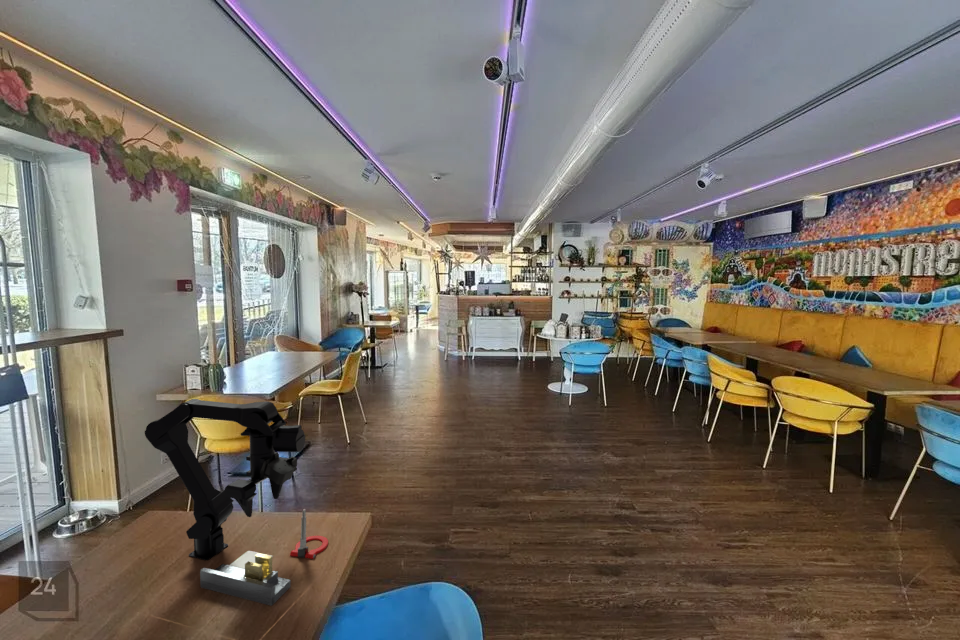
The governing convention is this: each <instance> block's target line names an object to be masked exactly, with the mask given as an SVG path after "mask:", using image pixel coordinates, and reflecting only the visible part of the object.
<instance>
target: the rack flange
mask: <svg viewBox="0 0 960 640" xmlns="http://www.w3.org/2000/svg"><path fill="white" fill-rule="evenodd" d="M199 575H200V576H199V577H200V579H199V580H200V584H199V585H200V588H201V589H205V590H209V591H214V592H217V593H220V594H224V595H228V596H232V597H236V598H240V599H243V600H247V601H251V602H255V603H259V604H263V605H268V606H271V607H272V606H273V605H274V604H275V603H277V601H278V600H279V599H280V598H282V596H283V595H284V594H285V593H286V592H287V591H288V590H289V589H290V588H291V583H292V582H291V579H288V578H284V577H281V576H279V571H277V570H272V573H270V574H269V575H268V576H267V577H266V578H265V579H264V580H263V581H258V580H255V579H251V578H247V577H245V569H244V568H239V567H235V566H231V565H230V564H227V563H226V564H225V563H222V564H220V565H219V566H218V567H216V568H215V569H213V568H212V569H211V568H207V567H203V568H201V569H200V571H199Z"/></svg>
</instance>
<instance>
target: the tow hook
mask: <svg viewBox="0 0 960 640" xmlns="http://www.w3.org/2000/svg"><path fill="white" fill-rule="evenodd" d="M306 511H307V510H306V508H303V509H302V514H301V526H300V539H299V541H298V542H297V543H296V544H295V549H292V550H291V551H290V553H289V555H290V556H291V557H297V558H303V559H311V560H314V559H315V557H316V556H317V555H318V554H319V553H322V552H323V551H325V550H326V549H327V547H328V545H329V540H328V538H327V537H325V536H323V535H310V536H307V517H306V515H307V513H306ZM310 541H320V542H321V543H322V544H321V545H320V546H319V547H317V548H314V549H310V550H309V546H307V542H310Z"/></svg>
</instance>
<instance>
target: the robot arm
mask: <svg viewBox="0 0 960 640" xmlns="http://www.w3.org/2000/svg"><path fill="white" fill-rule="evenodd" d="M194 418H197V419H204V420H205V419H207V420H218V421H226V422H227V421H228V422H234V423H237V424H238V425H240V426H242V427H244V428H245V429H244V430H243V431H242V432H241V433H240V436H242V437H249V455H247V456H245V460H246V461H247V462H249V470H247V471H246V473H245V474H246V476H248V477H250V478H249V479H247V480H246V479H241V478H238V479H236V480H234V481H233V482H230V483H229V484H227V485H226V486H225V487H224V490H222V491H220V490H218V489H216V488H215V487H214V486H213V484H212V482H211V480H210V479H209V477H208V475H207V473H206V472H205V470H204V468H203V467H202V465H201V463H200V461H199V460H198V458H197V456H196V454H195V452H194V450H193V449H192V447H191V446H190V443H189V429H188V425H187V424H188V423H189V422H191V420H193V419H194ZM270 423H272V424H271V425H269V424H270ZM144 436H145V438H146V440H148V442H149V443H150V444H151V445H152V446H153V448H154V449H157V451H161V452H163V453H164V454H165V455H166V456H167V457H168V459H169V460H170V462H171V464H172V466H173V468H174V469H175V471H176V472H177V474H178V476H179V478H180V479H181V481H182V483H183V485H184V486H185V488H186V489H187V491H188V494H189V495H190V497H191V498H192V500H193V501H192V502H193V511H192V513H193V518H194V519H195V523H194V524H192V526H190V527H189V528H188V529H187V530H186V533H185V534H186V535H187V538H188V539H190V540H193V548H194V549H193V551H192V552H189V554H188V557H190V558H193V559H194V558H195V559H199V560H204V561H209V560H211V559H212V558H214V557H215V556H216V555H218V554H219V553H220V552H222V551H223V550H225V549H226V548H228V547H229V544H228V543H225V541H224V540H225V539H224V538H225V537H224V532H223V531H224V530H223V529H224V528H223V526H222V525H223V523H224V522H226V521H227V520H228V518H229V516H231V515H232V513H233V510H234V504H233V502H234V500H235V501H236V502H237V504H238V505H239V507H240V508H241V509H242V511H243V513H244V514H245V516H246V517H247V518H251V517H252V516H253V502H254V501H253V499H254V498H255V496H256V495H257V494H258V493H256V491H257V485H258V484H260V483H262V482H263V481H266V480H267V479H268V480H269V483H270V489H271V493H272V497H273V500H278V499H279V496H280V494H281V491H282V487H283V485H284V483H285V482H287V481H289V480H291V479H292V477H293V474H294V472H296V471H298V468H297V467H298V460H297V457H295V456H291V457H283V456H280V454H279V453H281V452H282V453H284V452H285V453H288V452H289V453H290V452H291V453H300V452H302V450H303V449H304V447H305V443H306V434H305V432H304V430H303V429H302V425H301V424H295V425H287V422H286V420H285V419H284V418H283V416H282V415H281V414H280V413H279V411H278V409H277V407H276V405H275V404H274V403H273V402H272V401H267V400H266V401H256V402H249V403H234V402H233V403H231V402H222V401H210V400H202V399H198V398H192V399H189V400H187V401H184V402H181V403H180V404H179V405H178V406H176V408H174V409H173V410H171V411H170V412H169V413H167V414H165V415H164V416H162V417H161V418H158V419H156V420H154V421H151V422H150V423H148V424H147V425H146V427H145V430H144Z"/></svg>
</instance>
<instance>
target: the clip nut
mask: <svg viewBox="0 0 960 640" xmlns="http://www.w3.org/2000/svg"><path fill="white" fill-rule="evenodd" d="M259 553H260V552H258V554H257V555H256V556H255V563H253V562H249V561H248V562H247V563H246V564H245V577H247V578H251V579H255V580H258V581H263V580H264V579H265V578H266V577H267V576H268V575H269V574H270V573H272V572H273V557H272V556H273V555H271V556H268V555H269V554H267V555H263V554H264V553H262V554H259Z"/></svg>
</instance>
